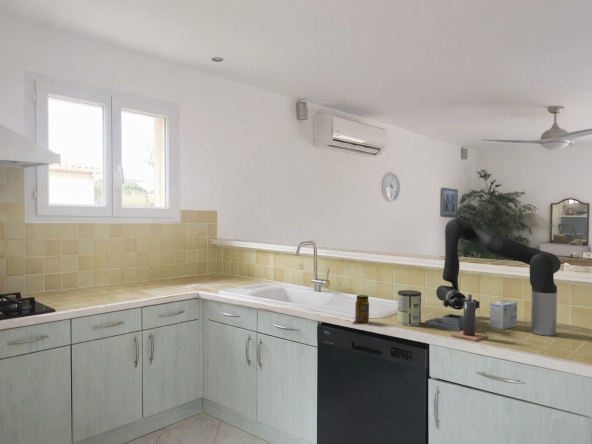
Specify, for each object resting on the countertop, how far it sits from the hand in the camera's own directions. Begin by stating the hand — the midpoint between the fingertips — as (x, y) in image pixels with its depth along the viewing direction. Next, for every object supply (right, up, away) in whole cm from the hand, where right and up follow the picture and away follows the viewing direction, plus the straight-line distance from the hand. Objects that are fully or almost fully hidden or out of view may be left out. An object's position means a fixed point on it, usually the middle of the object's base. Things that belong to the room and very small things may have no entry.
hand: (465, 306), depth 189 cm
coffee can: (-19, -11, +16) cm, 27 cm away
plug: (-1, -10, -7) cm, 12 cm away
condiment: (-41, -10, +16) cm, 45 cm away
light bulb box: (+21, -11, +11) cm, 26 cm away
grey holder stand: (-4, -11, +10) cm, 15 cm away
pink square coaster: (-1, -11, -7) cm, 13 cm away
